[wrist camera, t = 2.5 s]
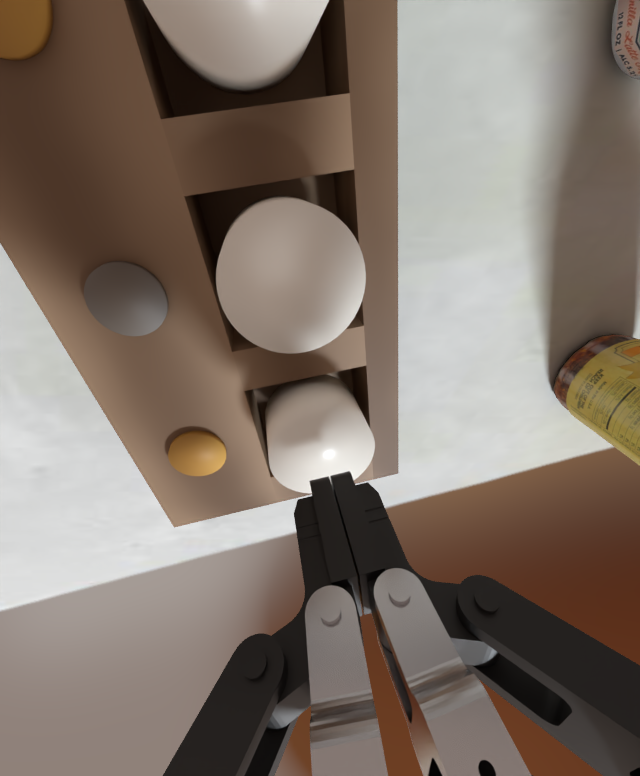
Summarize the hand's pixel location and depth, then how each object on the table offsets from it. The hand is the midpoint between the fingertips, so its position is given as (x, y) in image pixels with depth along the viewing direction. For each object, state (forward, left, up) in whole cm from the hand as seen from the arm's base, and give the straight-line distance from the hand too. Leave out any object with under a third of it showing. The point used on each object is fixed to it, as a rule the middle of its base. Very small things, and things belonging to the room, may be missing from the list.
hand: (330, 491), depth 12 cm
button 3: (0, 0, -5) cm, 5 cm away
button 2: (0, -7, -5) cm, 8 cm away
